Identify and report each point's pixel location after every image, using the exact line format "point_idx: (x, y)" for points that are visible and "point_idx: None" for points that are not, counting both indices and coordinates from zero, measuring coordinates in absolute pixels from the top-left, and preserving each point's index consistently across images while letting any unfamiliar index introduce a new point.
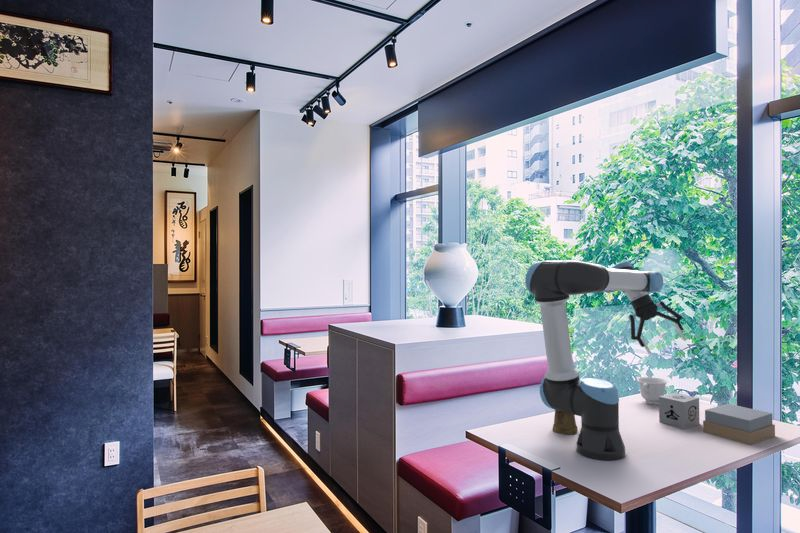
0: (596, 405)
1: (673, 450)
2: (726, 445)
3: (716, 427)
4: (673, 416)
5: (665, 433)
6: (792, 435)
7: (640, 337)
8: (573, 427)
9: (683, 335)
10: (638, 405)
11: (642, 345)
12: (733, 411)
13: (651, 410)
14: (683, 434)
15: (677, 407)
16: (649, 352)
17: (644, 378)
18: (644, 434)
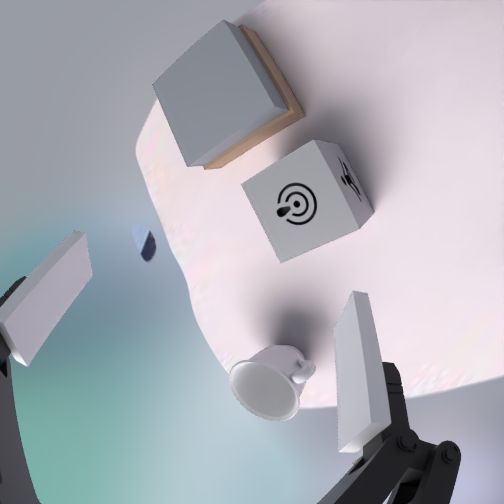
0: None
1: (446, 6)
2: (307, 24)
3: (281, 84)
4: (346, 178)
5: (413, 114)
6: None
7: (389, 438)
8: None
9: (61, 245)
10: None
11: (389, 374)
12: (212, 92)
13: (331, 310)
14: (368, 100)
15: (333, 162)
16: (364, 301)
17: (266, 416)
18: (472, 119)
